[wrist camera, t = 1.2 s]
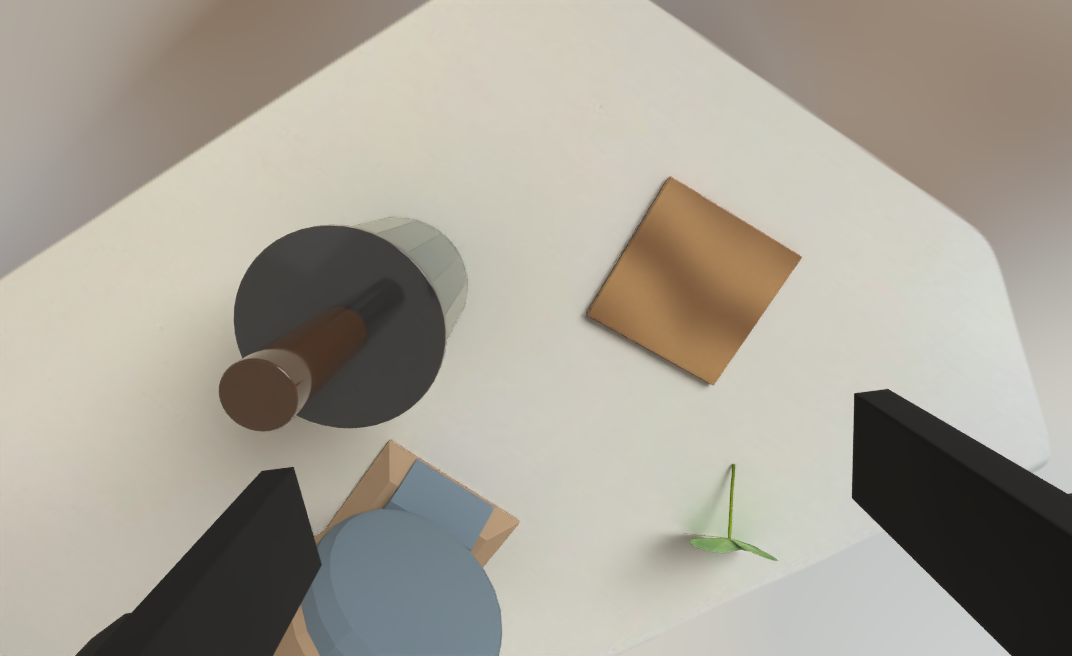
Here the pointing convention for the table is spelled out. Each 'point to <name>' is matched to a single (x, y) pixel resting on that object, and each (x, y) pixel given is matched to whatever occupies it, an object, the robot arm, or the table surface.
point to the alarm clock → (404, 569)
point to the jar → (429, 259)
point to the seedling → (727, 543)
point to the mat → (692, 282)
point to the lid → (333, 332)
